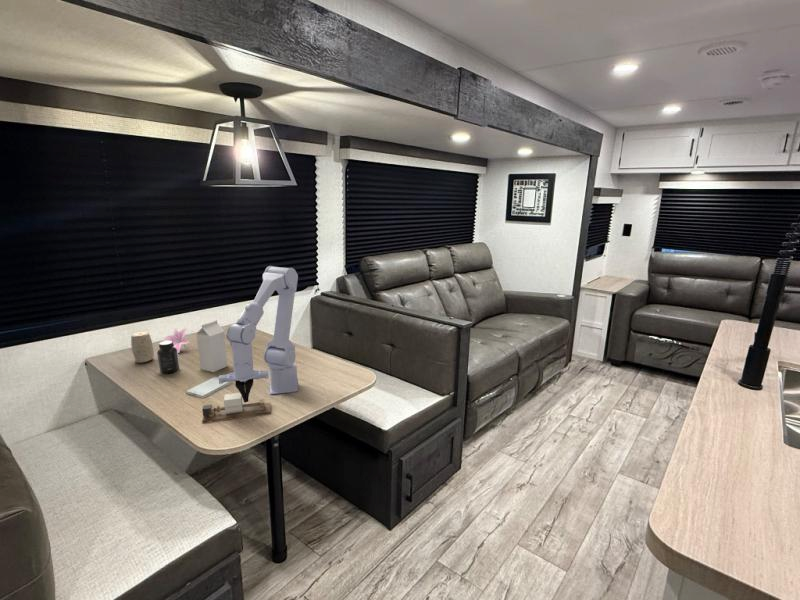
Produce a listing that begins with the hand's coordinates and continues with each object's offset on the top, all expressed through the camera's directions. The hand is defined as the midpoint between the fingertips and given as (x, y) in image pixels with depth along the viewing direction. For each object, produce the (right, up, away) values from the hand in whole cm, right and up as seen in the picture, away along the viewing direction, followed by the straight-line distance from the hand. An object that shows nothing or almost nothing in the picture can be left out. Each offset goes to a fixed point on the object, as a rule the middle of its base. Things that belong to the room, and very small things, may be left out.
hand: (246, 400), depth 132 cm
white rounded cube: (-4, -3, 0) cm, 5 cm away
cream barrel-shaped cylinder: (-57, +7, +39) cm, 69 cm away
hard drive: (-20, 0, +17) cm, 26 cm away
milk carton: (-25, +5, +34) cm, 43 cm away
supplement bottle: (-41, +4, +30) cm, 51 cm away
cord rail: (-3, -4, 0) cm, 5 cm away
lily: (-49, +10, +51) cm, 72 cm away
